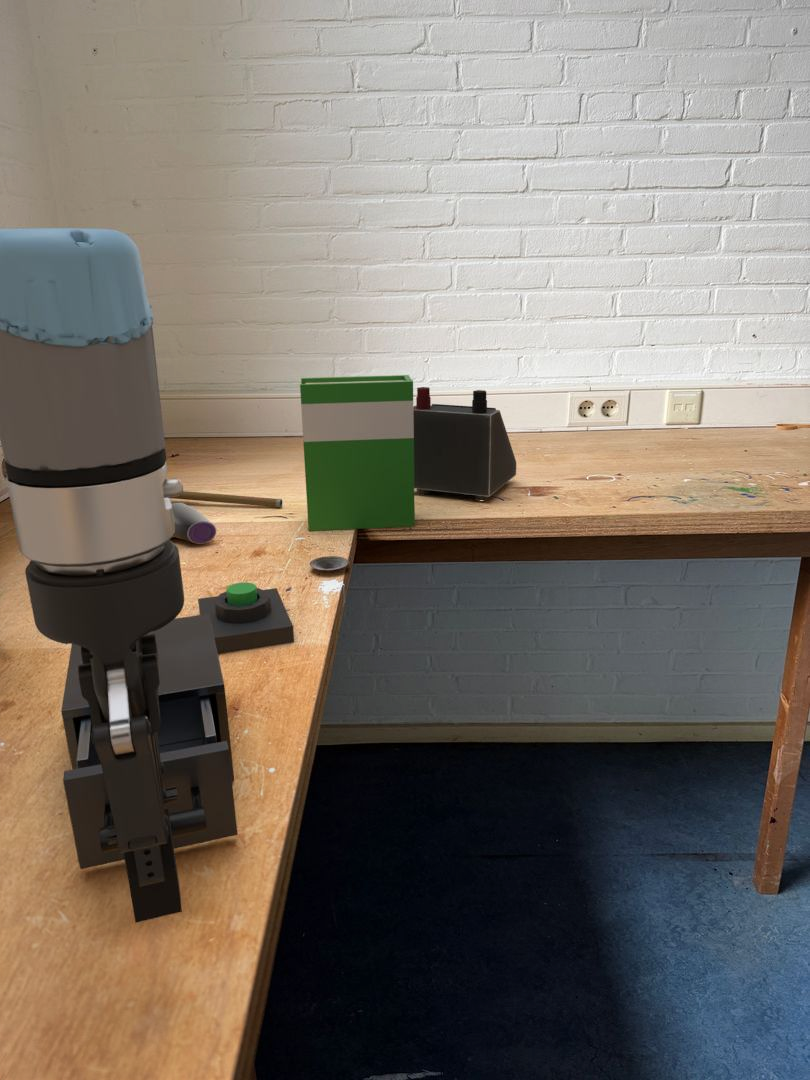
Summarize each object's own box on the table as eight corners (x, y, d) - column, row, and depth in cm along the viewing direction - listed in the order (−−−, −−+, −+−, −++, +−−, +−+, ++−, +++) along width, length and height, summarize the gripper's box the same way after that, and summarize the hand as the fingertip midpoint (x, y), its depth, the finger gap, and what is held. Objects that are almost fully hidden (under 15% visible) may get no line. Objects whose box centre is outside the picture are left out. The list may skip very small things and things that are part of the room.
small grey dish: (321, 580, 112) (320, 572, 111) (304, 568, 116) (303, 561, 116) (355, 572, 114) (355, 564, 114) (337, 560, 119) (337, 553, 118)
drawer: (244, 873, 58) (235, 783, 55) (76, 913, 54) (57, 819, 52) (220, 740, 74) (212, 665, 71) (89, 764, 70) (75, 687, 68)
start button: (225, 597, 98) (224, 584, 97) (255, 593, 99) (254, 580, 98) (229, 609, 94) (227, 595, 94) (259, 604, 96) (258, 591, 95)
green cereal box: (308, 531, 132) (300, 384, 124) (309, 517, 139) (301, 378, 131) (414, 526, 133) (413, 381, 125) (410, 512, 140) (408, 374, 132)
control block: (199, 614, 102) (196, 585, 100) (277, 603, 105) (275, 575, 103) (207, 656, 91) (204, 624, 90) (294, 642, 94) (292, 611, 92)
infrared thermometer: (101, 551, 127) (187, 524, 136) (131, 572, 118) (222, 542, 127) (95, 524, 125) (183, 499, 134) (125, 543, 116) (217, 515, 125)
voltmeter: (516, 481, 158) (519, 379, 151) (489, 504, 144) (491, 393, 138) (441, 473, 165) (441, 376, 158) (408, 494, 151) (406, 388, 144)
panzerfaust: (277, 492, 141) (285, 488, 146) (93, 478, 146) (106, 473, 151) (276, 518, 143) (285, 513, 147) (94, 503, 148) (108, 498, 152)
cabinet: (234, 780, 69) (224, 683, 66) (79, 812, 66) (60, 710, 62) (218, 697, 82) (209, 613, 79) (88, 720, 79) (73, 632, 76)
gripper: (184, 584, 36) (231, 976, 44) (172, 506, 48) (211, 827, 56) (4, 608, 34) (88, 1015, 42) (37, 520, 46) (98, 851, 54)
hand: (158, 908), depth 49 cm, fingers closed
